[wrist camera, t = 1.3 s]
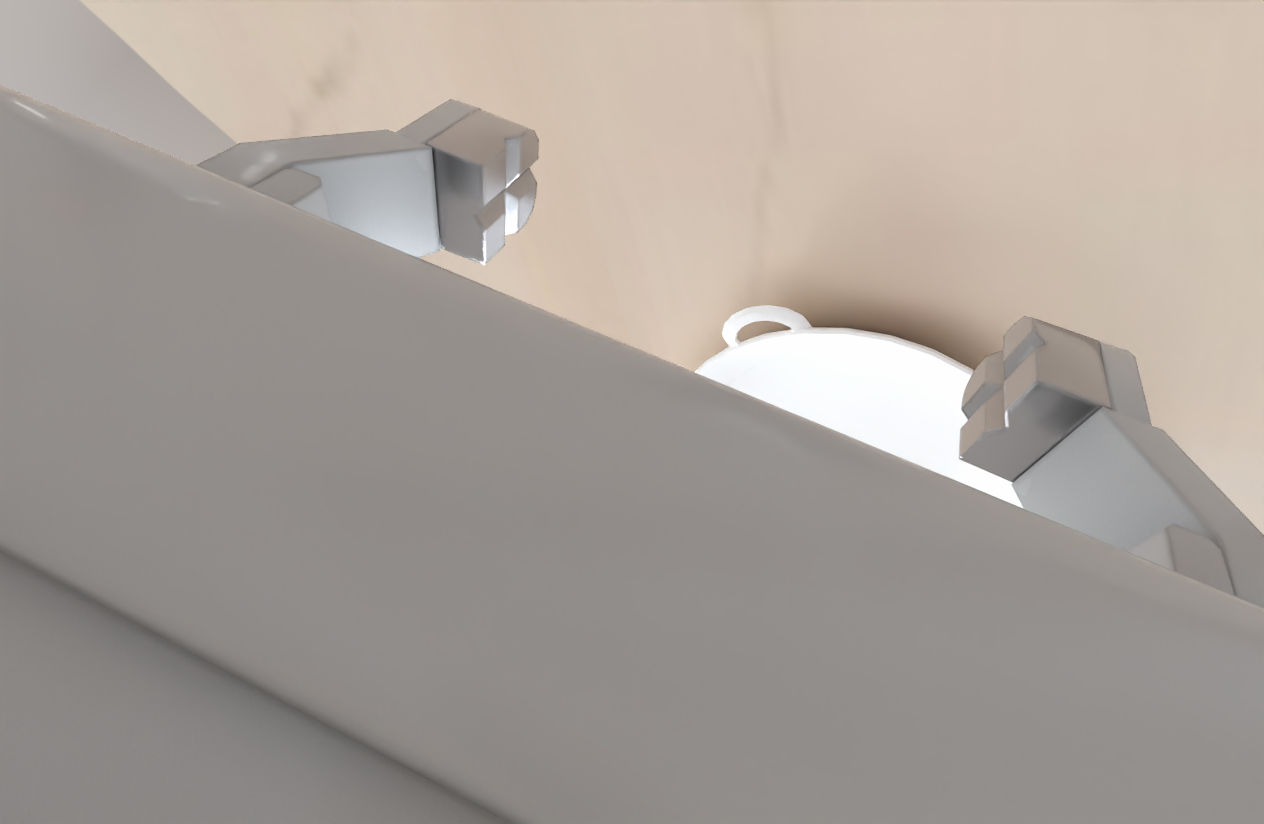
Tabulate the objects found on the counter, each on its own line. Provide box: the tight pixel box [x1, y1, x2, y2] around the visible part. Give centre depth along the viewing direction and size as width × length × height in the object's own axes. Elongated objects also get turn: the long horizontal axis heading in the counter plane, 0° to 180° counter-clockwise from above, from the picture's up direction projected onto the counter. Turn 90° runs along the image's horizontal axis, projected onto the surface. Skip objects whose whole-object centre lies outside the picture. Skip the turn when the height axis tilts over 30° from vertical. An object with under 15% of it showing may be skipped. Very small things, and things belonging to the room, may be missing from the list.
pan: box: [695, 305, 1024, 509], centre depth 51 cm, size 34×28×4 cm
